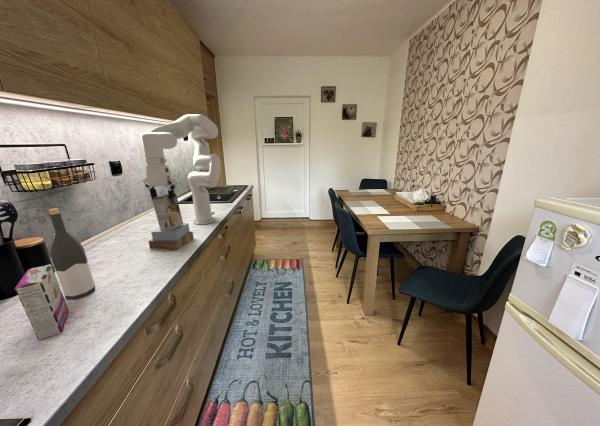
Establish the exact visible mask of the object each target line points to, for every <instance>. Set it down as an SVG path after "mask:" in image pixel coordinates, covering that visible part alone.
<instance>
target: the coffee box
mask: <svg viewBox="0 0 600 426" xmlns="http://www.w3.org/2000/svg"><path fill="white" fill-rule="evenodd" d="M174 194H175V198H172V199H169V195H168V193H165V194H161V195H157V197H154V198H151V201H152V204H153V209H154V213H155V215H156V219H157V222H158V228H159V227H160V230H173V229H175V228H177V227H178V226H180V225H182V224H183V223H184V222H183V221H184V220H183V218H182V217H183V216H182V213H181V208H180V204H179V200H178V197H177V193H176V192H174Z"/></svg>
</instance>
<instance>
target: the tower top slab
mask: <svg viewBox="0 0 600 426" xmlns="http://www.w3.org/2000/svg"><path fill="white" fill-rule="evenodd" d="M189 226H190V225H189V222H183V224H182V225H180V226H178V227H177V228H175V229H173V230H160V227H159V226H158V227H157V228H155V229H154V230H152V231H151V232H150V233H151V239H153V241H178V240H179V239H180V238H182V237H183V236H184V235H186V234H187V233H188V232H190V227H189Z"/></svg>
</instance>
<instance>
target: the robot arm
mask: <svg viewBox="0 0 600 426" xmlns="http://www.w3.org/2000/svg"><path fill="white" fill-rule="evenodd" d="M188 135H190V138H191V139H192V142H193V143H194V155H193V162H192V165H193V168H194V169H195V170H194V171H191V172H189V174H188V176H187V182H188V184H189V187H190V191H191V197H192V203H193V210H194V216H195V219H194V220H193V224H194V225H208V224H211V223H214V222H215V220H216V219H215V217H213V216H214V215H215V214H216V212H215V211H212V209H211V200H210V194H209V191H208V190H207V188H216V187H218V184H219V182H220V181H219V180H220V174H221V159H220V156H219V155H217V154H215V153H210V152H211V147H210V145H209V144H208V142H207V141H206V140H205V139H212V140H213V139H215V138H217V137H218V136H219V130H218V127H217V125H216V124H215V123H214V122H213V121H212V120H211V119H210V118H208V117H207V116H206V115H204V114H201V113H195V114H184V115H182V116H181V117H179V118H178V119H176V120H175V121H173V122H170V123H166V124H164V125H160V126H158V127H155V128H153V129H151V130H149V131H148V132H144V133H141V135H140V139H141V144H142V150H143V154H144V158H145V163H146V165H145V172H146V178H144V179H143V180H142V182H143V184H144V185H145V187H146V188H147V190H148V191H149V195H150V198H151V199H152V198H154V197H157V196H158V193H157V189H156V187H158V188H160V187H161V188H162V187H164V188H165V187H166V189H167V194H168V195H169V199H172V198H175V194H174V193H175V189H176V187H177V183H178V180H177V179H174V178H173V177H172V173H171V170H170V167H169V165H168V163H166V162H167V161H168V160H167V159H166V158H165V154H164V153H165V152H164V150H171V149H174V148H175V147H176V146H177V145H178V140H180V139H184V138H186V137H187V136H188Z"/></svg>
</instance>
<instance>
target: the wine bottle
mask: <svg viewBox="0 0 600 426" xmlns="http://www.w3.org/2000/svg"><path fill="white" fill-rule="evenodd" d="M59 210H60V209H59V208H58V207H57V208H51V209H50V208H49V209H48V212H49V215H48V216H49V217H50V220H51V222H52V226H53V229H54V232H55V236H54V239H53V241H52V243H51V250H50V259H51V261H52V265H53V268H54V270H55V272H56V273H55V274H57V276H56V277H57V278H58V282H59V283H60V284H59V285H60V286H61V287H60V288H61V290H62V293H63V294H64V295H63V296H64V299H66V300H69V301H76V300H79V299H80V300H81V299H83V298H86V297H88V296H89V295H91V294H93V293H94V292H96V284H95V283H96V282H95V280H94V277H93V274H92V271H91V267H90V265H89V260H88V258H87V255H86V250H85V248H84V246H83V245H82V244H81V242H80V241H79V240H78V239H77V238H76V236H73V235H72V234H71V233H70V232H68V230H67V228H66V226H65V223H64V219H63V217H62V212H60V211H59Z"/></svg>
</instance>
